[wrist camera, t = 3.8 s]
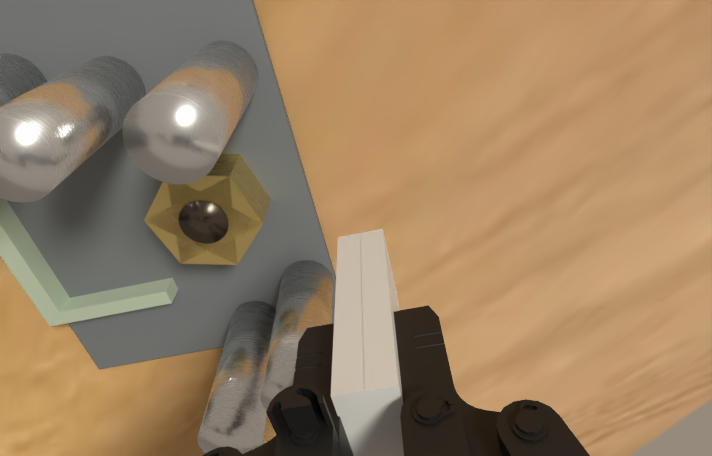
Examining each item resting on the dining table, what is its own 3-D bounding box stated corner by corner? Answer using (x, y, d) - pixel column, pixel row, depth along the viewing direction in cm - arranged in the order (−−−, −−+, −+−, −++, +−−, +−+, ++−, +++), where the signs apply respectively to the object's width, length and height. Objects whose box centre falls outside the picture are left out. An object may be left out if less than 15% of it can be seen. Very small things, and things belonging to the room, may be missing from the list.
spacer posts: (146, 359, 30) (87, 485, 23) (-32, 61, 21) (-211, 124, 14) (346, 323, 29) (346, 445, 22) (246, -8, 20) (195, 24, 13)
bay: (60, 312, 28) (49, 326, 27) (-47, 152, 23) (-65, 162, 22) (178, 289, 28) (172, 303, 27) (93, 120, 23) (81, 129, 22)
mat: (101, 364, 31) (99, 369, 31) (-124, 25, 21) (-132, 27, 21) (348, 319, 30) (348, 324, 29) (232, -68, 19) (230, -68, 19)
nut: (209, 254, 27) (197, 284, 24) (143, 173, 24) (123, 197, 22) (284, 219, 26) (278, 246, 23) (223, 130, 23) (210, 151, 21)
